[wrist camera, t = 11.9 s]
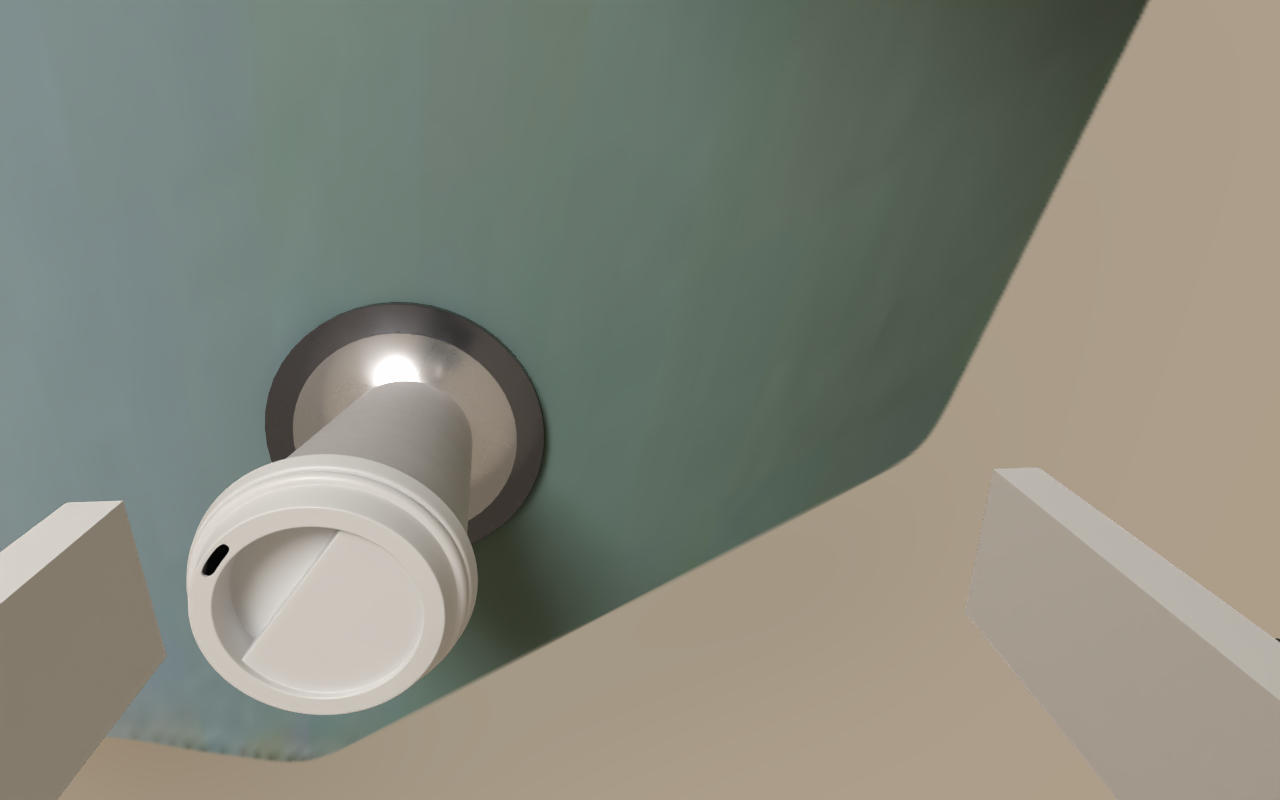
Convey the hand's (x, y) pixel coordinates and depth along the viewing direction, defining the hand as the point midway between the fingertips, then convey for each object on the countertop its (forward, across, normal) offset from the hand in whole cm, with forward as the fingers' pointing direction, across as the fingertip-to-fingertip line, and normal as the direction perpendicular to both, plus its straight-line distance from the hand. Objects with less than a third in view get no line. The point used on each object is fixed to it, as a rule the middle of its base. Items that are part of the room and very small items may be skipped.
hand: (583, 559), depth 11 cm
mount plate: (+26, -9, -9) cm, 29 cm away
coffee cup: (+26, -9, -9) cm, 28 cm away
